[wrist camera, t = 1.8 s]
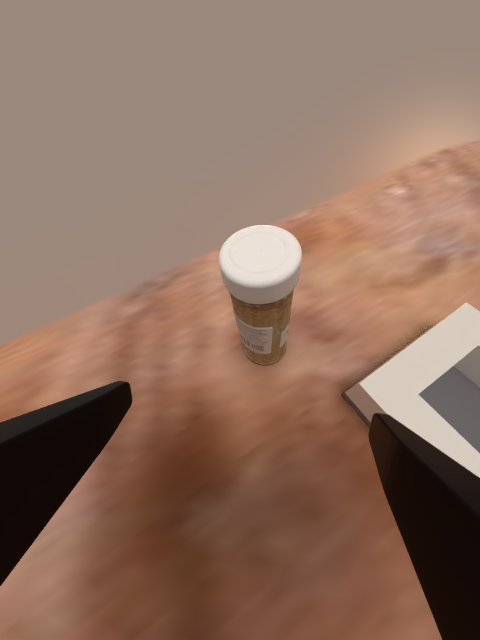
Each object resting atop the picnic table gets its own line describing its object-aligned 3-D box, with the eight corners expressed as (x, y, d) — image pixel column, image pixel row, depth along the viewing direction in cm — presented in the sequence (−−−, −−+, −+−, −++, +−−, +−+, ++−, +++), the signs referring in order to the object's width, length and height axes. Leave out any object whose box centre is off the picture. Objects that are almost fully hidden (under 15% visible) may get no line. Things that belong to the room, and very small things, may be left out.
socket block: (577, 440, 17) (671, 441, 13) (474, 550, 15) (548, 589, 11) (431, 326, 22) (466, 302, 18) (341, 394, 20) (358, 383, 16)
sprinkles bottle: (295, 348, 23) (322, 250, 11) (261, 375, 22) (252, 300, 10) (266, 318, 25) (264, 210, 13) (234, 342, 24) (201, 248, 12)
